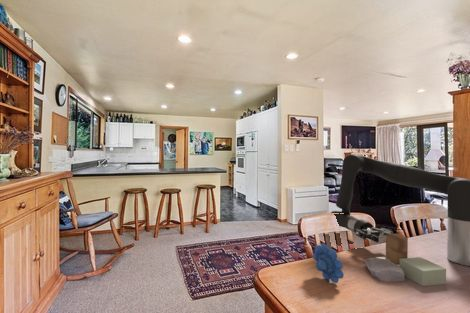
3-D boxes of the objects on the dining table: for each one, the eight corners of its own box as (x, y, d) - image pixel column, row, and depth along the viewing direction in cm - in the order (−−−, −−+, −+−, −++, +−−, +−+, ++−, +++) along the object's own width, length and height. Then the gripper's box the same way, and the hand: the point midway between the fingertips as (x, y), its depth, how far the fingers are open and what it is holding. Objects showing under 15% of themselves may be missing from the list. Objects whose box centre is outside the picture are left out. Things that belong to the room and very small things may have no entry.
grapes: (305, 275, 84) (305, 242, 83) (317, 270, 87) (317, 238, 87) (335, 292, 74) (335, 254, 74) (347, 285, 78) (347, 249, 77)
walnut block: (396, 258, 95) (396, 233, 95) (407, 263, 90) (407, 237, 90) (385, 258, 95) (385, 234, 94) (395, 264, 90) (396, 238, 90)
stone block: (378, 287, 80) (408, 282, 79) (375, 273, 80) (405, 268, 80) (362, 270, 92) (388, 266, 91) (359, 258, 92) (385, 254, 91)
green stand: (420, 270, 87) (420, 257, 87) (445, 283, 78) (446, 268, 78) (399, 272, 86) (399, 258, 86) (422, 286, 77) (423, 271, 77)
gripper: (346, 220, 112) (372, 231, 96) (373, 218, 114) (402, 229, 98) (346, 235, 112) (371, 249, 96) (373, 234, 114) (402, 247, 98)
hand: (387, 239), depth 97 cm, fingers open, 8 cm apart
